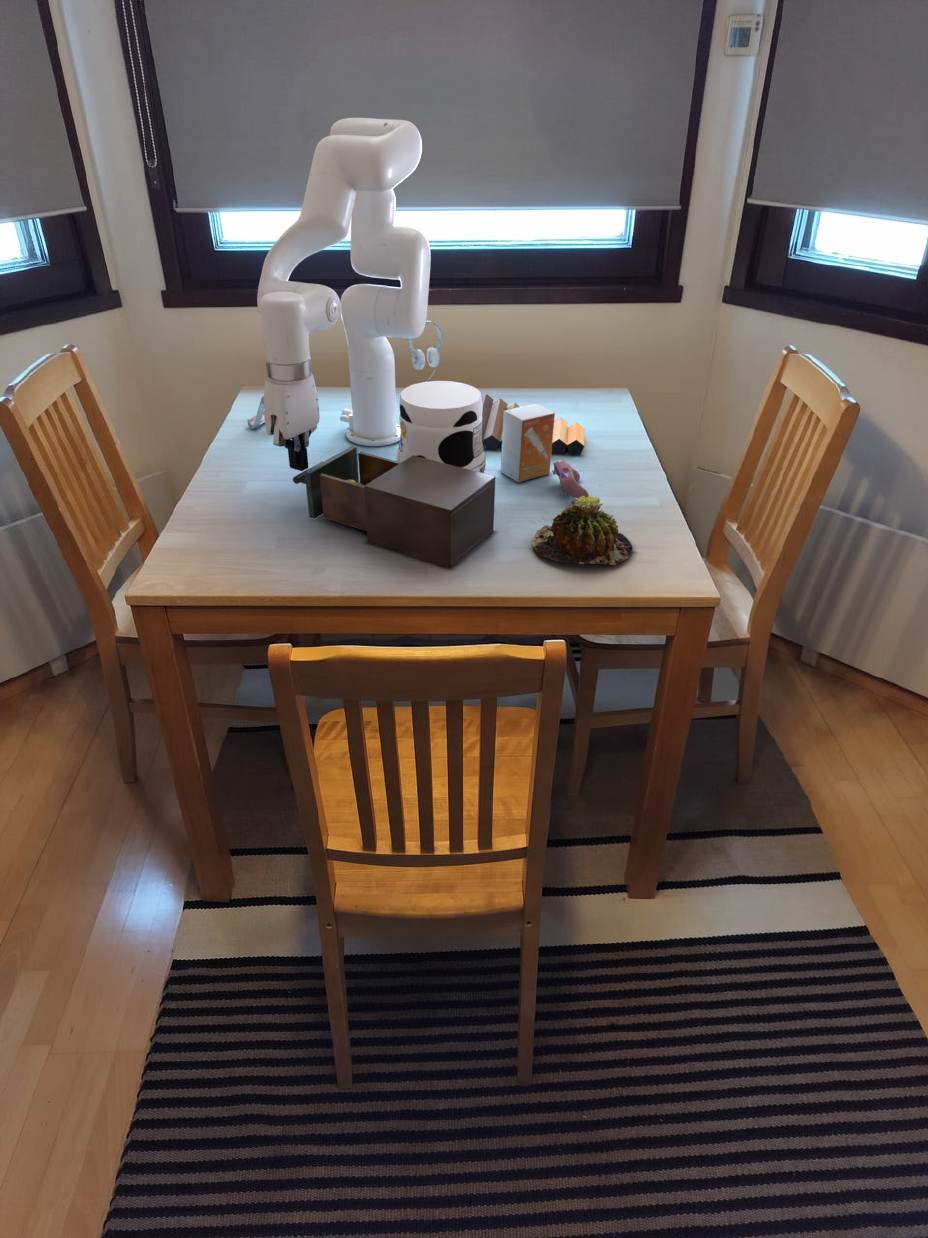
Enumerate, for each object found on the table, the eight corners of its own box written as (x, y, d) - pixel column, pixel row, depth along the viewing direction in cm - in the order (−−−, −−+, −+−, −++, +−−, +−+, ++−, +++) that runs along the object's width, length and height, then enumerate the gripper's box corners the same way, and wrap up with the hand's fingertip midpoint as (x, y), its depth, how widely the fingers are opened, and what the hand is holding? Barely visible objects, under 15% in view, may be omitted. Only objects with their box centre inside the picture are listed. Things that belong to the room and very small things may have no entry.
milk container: (386, 471, 168) (383, 384, 157) (467, 460, 173) (468, 374, 162) (411, 508, 154) (409, 415, 144) (498, 495, 159) (501, 404, 149)
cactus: (623, 525, 150) (630, 476, 144) (640, 571, 137) (648, 519, 131) (528, 525, 149) (531, 475, 144) (536, 571, 136) (540, 518, 131)
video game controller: (559, 487, 166) (546, 458, 162) (580, 477, 165) (567, 448, 161) (569, 510, 158) (555, 480, 154) (591, 499, 157) (577, 469, 153)
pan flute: (478, 407, 198) (466, 448, 178) (478, 393, 196) (466, 433, 176) (583, 412, 196) (583, 455, 176) (584, 398, 194) (584, 440, 174)
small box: (518, 483, 164) (522, 420, 156) (499, 472, 168) (502, 409, 161) (550, 474, 168) (555, 412, 160) (531, 463, 172) (535, 402, 164)
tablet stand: (271, 415, 192) (266, 380, 187) (299, 421, 189) (295, 385, 185) (248, 428, 186) (243, 391, 181) (277, 434, 183) (273, 397, 178)
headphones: (437, 401, 201) (437, 316, 190) (445, 406, 198) (445, 320, 187) (407, 407, 198) (404, 321, 186) (415, 412, 195) (413, 325, 183)
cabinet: (367, 542, 144) (364, 485, 137) (414, 509, 154) (412, 455, 148) (450, 569, 137) (450, 510, 131) (493, 532, 147) (495, 476, 141)
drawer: (285, 510, 151) (279, 464, 146) (331, 482, 161) (327, 439, 156) (380, 540, 143) (378, 492, 137) (423, 509, 152) (422, 464, 147)
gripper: (300, 354, 150) (309, 450, 160) (242, 376, 139) (256, 477, 150) (333, 361, 147) (340, 458, 157) (276, 384, 136) (288, 487, 146)
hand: (299, 467), depth 153 cm, fingers closed
